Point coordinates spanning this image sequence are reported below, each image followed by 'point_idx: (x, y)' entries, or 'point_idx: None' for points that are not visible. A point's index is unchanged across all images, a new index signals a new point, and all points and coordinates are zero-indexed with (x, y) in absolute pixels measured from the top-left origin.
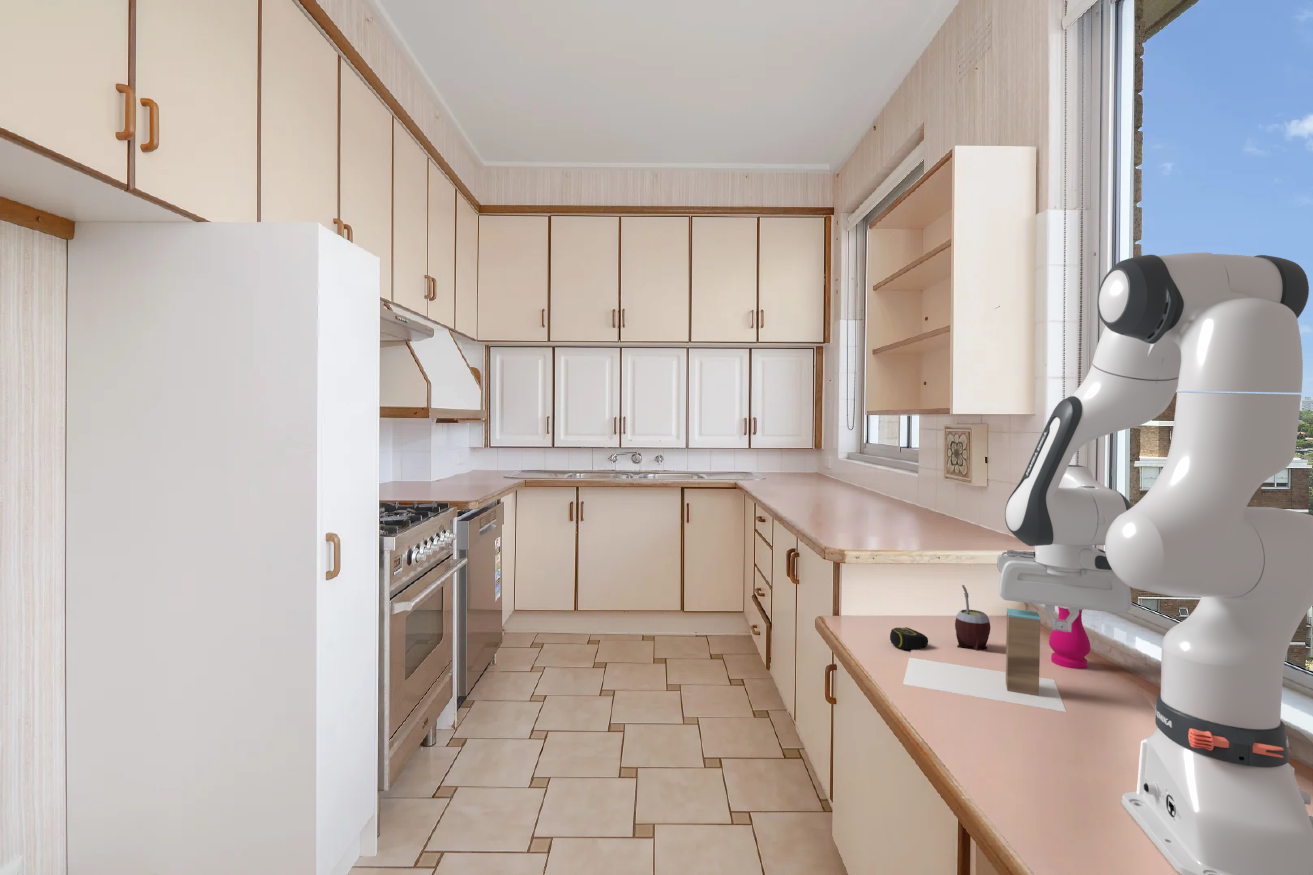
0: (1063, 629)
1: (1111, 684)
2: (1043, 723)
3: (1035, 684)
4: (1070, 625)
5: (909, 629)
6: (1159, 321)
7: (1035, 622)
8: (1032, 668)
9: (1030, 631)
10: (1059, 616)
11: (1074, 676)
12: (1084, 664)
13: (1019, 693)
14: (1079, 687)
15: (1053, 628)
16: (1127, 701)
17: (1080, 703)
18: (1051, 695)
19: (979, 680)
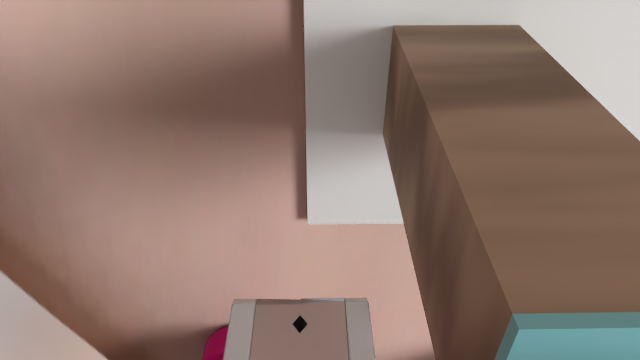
0: (288, 305)
1: (138, 270)
2: None
3: (416, 44)
4: (232, 341)
5: None
6: None
7: (545, 289)
8: (449, 77)
9: (549, 219)
10: None
11: (241, 286)
12: (209, 349)
13: (471, 19)
14: (230, 208)
15: (360, 303)
16: (79, 153)
17: (232, 52)
18: (338, 60)
19: (601, 98)
